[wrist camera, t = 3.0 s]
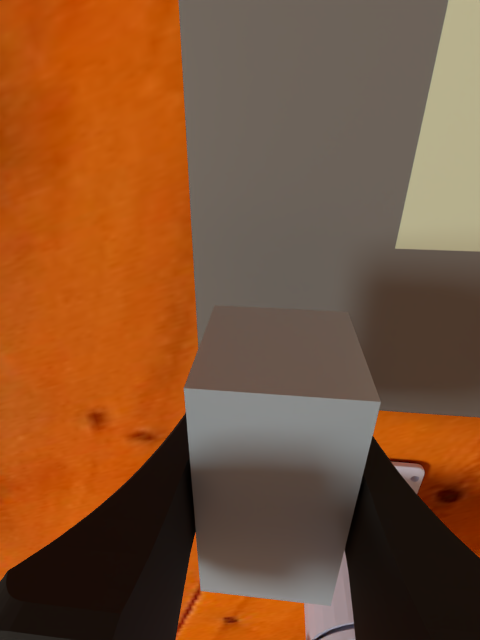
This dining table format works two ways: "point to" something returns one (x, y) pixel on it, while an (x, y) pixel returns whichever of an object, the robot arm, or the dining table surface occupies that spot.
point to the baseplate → (343, 177)
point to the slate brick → (277, 449)
